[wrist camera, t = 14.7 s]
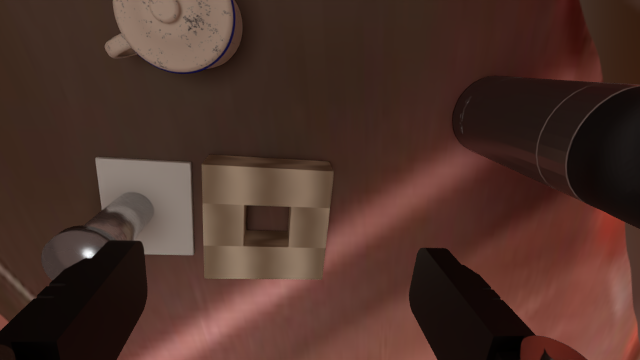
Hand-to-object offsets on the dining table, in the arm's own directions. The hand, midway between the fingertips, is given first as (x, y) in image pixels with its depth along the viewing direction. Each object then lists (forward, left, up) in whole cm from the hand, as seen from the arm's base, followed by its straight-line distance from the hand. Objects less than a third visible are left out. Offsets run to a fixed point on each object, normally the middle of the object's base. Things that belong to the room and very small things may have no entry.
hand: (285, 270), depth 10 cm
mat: (+15, +12, -30) cm, 36 cm away
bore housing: (+1, +12, -30) cm, 32 cm away
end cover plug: (+17, +12, -30) cm, 36 cm away
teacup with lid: (+10, -8, -30) cm, 33 cm away
